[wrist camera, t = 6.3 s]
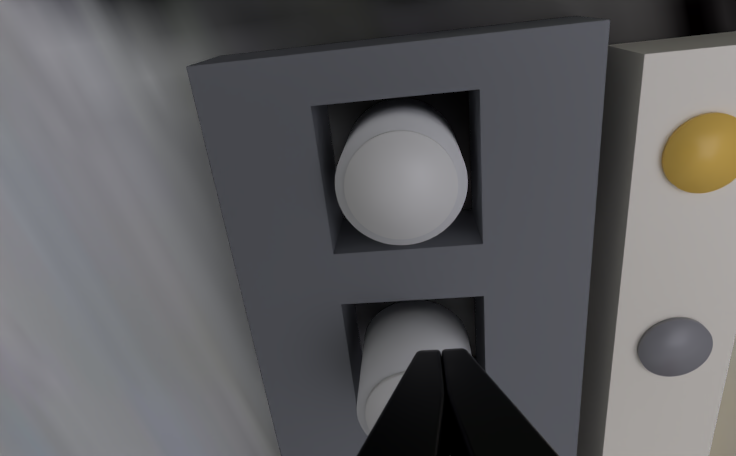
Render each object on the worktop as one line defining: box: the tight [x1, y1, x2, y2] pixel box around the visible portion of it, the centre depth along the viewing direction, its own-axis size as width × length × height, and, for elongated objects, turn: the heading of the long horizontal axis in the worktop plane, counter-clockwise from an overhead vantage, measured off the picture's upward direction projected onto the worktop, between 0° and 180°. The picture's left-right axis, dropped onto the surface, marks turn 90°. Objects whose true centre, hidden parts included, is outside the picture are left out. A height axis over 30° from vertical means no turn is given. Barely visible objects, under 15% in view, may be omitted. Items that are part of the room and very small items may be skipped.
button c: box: [335, 98, 468, 245], centre depth 17 cm, size 4×4×4 cm
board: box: [186, 16, 610, 456], centre depth 20 cm, size 12×22×3 cm, turn 7°
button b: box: [356, 300, 472, 436], centre depth 18 cm, size 4×4×4 cm
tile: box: [577, 31, 736, 456], centre depth 19 cm, size 4×20×3 cm, turn 6°
